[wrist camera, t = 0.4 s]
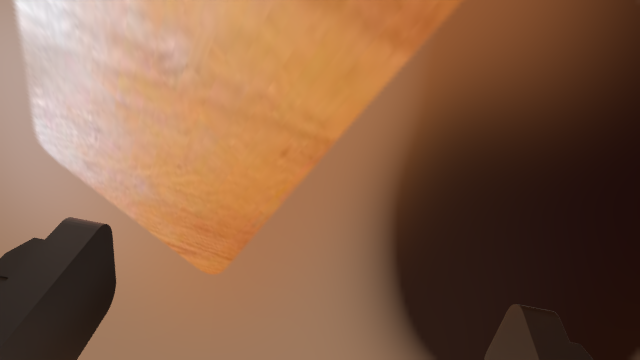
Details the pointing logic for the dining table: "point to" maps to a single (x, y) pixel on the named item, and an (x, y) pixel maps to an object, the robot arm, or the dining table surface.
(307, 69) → the dining table surface
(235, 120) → the dining table surface
